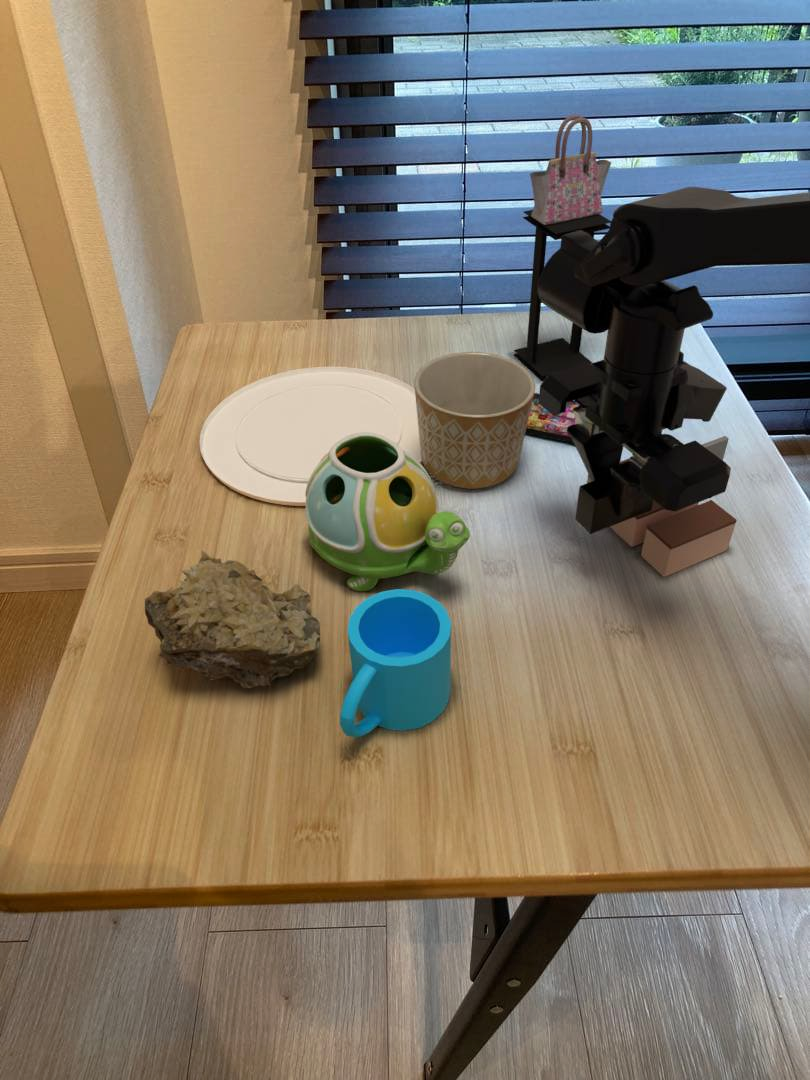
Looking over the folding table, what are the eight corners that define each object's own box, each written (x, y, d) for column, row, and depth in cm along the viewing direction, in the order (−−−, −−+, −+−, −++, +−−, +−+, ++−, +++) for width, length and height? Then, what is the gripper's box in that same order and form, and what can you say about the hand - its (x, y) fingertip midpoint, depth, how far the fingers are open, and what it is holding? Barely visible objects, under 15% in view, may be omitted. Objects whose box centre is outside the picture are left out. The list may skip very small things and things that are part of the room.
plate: (430, 367, 111) (430, 362, 111) (444, 502, 90) (444, 497, 90) (218, 375, 111) (217, 370, 110) (182, 512, 90) (181, 507, 90)
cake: (693, 522, 87) (701, 491, 84) (631, 547, 84) (637, 516, 82) (643, 480, 92) (649, 450, 90) (583, 502, 90) (588, 473, 87)
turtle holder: (414, 639, 76) (412, 541, 68) (284, 548, 86) (268, 453, 78) (500, 568, 83) (507, 471, 75) (370, 491, 92) (364, 398, 84)
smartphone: (505, 386, 105) (625, 410, 101) (505, 393, 106) (624, 416, 101) (485, 419, 100) (611, 446, 95) (484, 426, 101) (609, 452, 96)
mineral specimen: (345, 602, 80) (336, 522, 73) (311, 713, 70) (297, 633, 64) (200, 586, 82) (178, 508, 75) (147, 692, 72) (118, 613, 66)
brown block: (727, 550, 84) (737, 519, 81) (663, 577, 81) (671, 546, 78) (703, 530, 86) (711, 499, 83) (640, 555, 83) (647, 525, 81)
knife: (590, 534, 76) (596, 496, 73) (574, 519, 78) (580, 481, 75) (725, 481, 82) (736, 443, 79) (708, 468, 83) (718, 430, 80)
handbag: (532, 383, 108) (553, 133, 88) (504, 357, 113) (518, 114, 93) (602, 365, 111) (638, 118, 91) (572, 340, 116) (599, 101, 96)
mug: (389, 640, 76) (385, 575, 71) (468, 678, 73) (470, 613, 67) (306, 735, 69) (295, 671, 63) (389, 782, 65) (385, 719, 60)
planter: (521, 430, 100) (529, 352, 93) (530, 498, 91) (540, 417, 84) (414, 428, 100) (415, 350, 93) (412, 496, 91) (413, 415, 84)
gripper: (806, 383, 64) (754, 538, 74) (645, 288, 76) (620, 432, 86) (690, 424, 60) (653, 581, 70) (542, 317, 72) (529, 464, 83)
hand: (614, 507), depth 78 cm, fingers closed on knife, 2 cm apart
